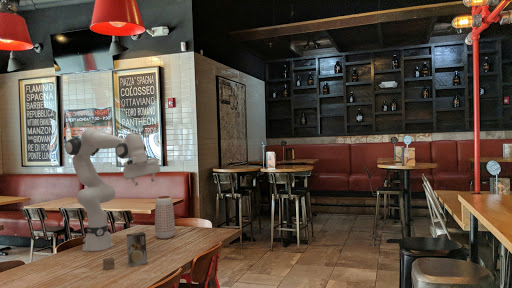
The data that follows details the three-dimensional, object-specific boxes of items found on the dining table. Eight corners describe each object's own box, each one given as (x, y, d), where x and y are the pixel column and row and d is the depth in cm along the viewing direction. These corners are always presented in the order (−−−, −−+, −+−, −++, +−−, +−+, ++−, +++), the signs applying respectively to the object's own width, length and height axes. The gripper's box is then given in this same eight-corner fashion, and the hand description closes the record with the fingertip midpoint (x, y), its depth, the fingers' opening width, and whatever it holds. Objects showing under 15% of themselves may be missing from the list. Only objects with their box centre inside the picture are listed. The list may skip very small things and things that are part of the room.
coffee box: (144, 260, 204) (143, 231, 204) (147, 263, 198) (146, 233, 198) (127, 263, 199) (126, 233, 199) (129, 266, 194) (128, 236, 194)
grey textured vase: (179, 236, 257) (177, 196, 257) (164, 240, 246) (163, 198, 246) (165, 234, 264) (164, 195, 265) (151, 238, 253) (149, 197, 253)
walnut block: (103, 268, 193) (103, 258, 193) (112, 266, 196) (112, 257, 196) (105, 270, 189) (105, 260, 189) (114, 268, 192) (114, 259, 192)
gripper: (156, 157, 219) (161, 179, 218) (120, 164, 209) (126, 188, 208) (158, 155, 214) (164, 178, 213) (121, 163, 204) (127, 187, 203)
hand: (144, 183), depth 210 cm, fingers open, 8 cm apart
